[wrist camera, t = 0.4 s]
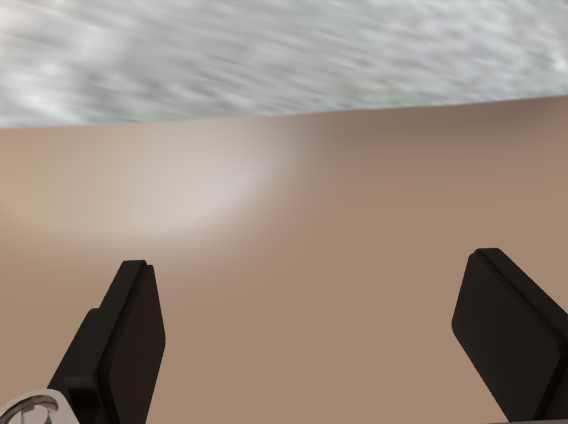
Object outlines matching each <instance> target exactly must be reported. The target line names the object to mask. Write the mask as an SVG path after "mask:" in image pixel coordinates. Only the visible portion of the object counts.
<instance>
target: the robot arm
mask: <svg viewBox="0 0 568 424" xmlns="http://www.w3.org/2000/svg"><path fill="white" fill-rule="evenodd" d="M452 330H453V333H454V335H455V336H456V338H457V340H458V341H459V343H460V344H461V346H462V347H463V349H464V351H465V352H466V354H467V355H468V357H469V359H470V360H471V362H472V363H473V365H474V367H475V368H476V370H477V371H478V373H479V374H480V376H481V378H482V379H483V381H484V383H485V384H486V386H487V387H488V389H489V391H490V392H491V394H492V395H493V397H494V398H495V400H496V402H497V403H498V405H499V406H500V408H501V409H502V411H503V413H504V414H505V416H506V417H507V419H508V421H509V422H506V423H490V424H568V314H567V313H566V312H565V311H564V310H563V309H562V308H561V307H560V306H559V305H558V304H557V303H555V302H554V301H553V299H551V298H550V297H549V296H548V295H547V294H546V293H545V292H544V291H543V290H542V289H541V288H540V287H539V286H538V285H537V284H536V283H535V282H534V281H533V280H532V279H531V278H529V277H528V276H527V275H526V274H525V273H524V272H523V271H522V270H521V269H520V268H519V267H518V266H517V265H516V264H515V263H514V262H513V261H512V260H511V259H510V258H509V257H508V256H507V255H506V254H504V253H503V252H502V251H501V250H500V249H498V248H479V249H477V250H475V252H474V253H472V254H471V255H470V256H469V258H468V262H467V266H466V270H465V273H464V277H463V281H462V285H461V288H460V293H459V296H458V300H457V304H456V307H455V311H454V315H453V319H452ZM164 349H165V331H164V326H163V319H162V314H161V308H160V302H159V296H158V290H157V285H156V279H155V273H154V268H153V266H152V265H147V263H146V261H145V260H130V261H123V263H122V264H121V266H120V268H119V270H118V272H117V274H116V276H115V278H114V280H113V282H112V283H111V285H110V287H109V290H108V291H107V293H106V296H105V297H104V299H103V301H102V303H101V305H100V307H99V308H93V309H91V310H90V311H89V312H88V313H87V315H86V317H85V318H84V320H83V322H82V324H81V326H80V328H79V330H78V331H77V333H76V335H75V337H74V339H73V341H72V342H71V344H70V346H69V348H68V350H67V352H66V354H65V355H64V357H63V359H62V361H61V363H60V365H59V367H58V368H57V370H56V372H55V374H54V376H53V378H52V379H51V381H50V383H49V385H48V387H47V388H46V389H38V390H34V391H29V392H27V393H25V394H23V395H20V396H18V397H16V398H15V399H13V400H11V401H10V402H8V403H7V404H5V405H4V406H3V407H2V408H1V409H0V424H145V423H146V419H147V415H148V411H149V407H150V403H151V399H152V395H153V392H154V388H155V384H156V380H157V376H158V372H159V368H160V364H161V361H162V357H163V352H164Z"/></svg>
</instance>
